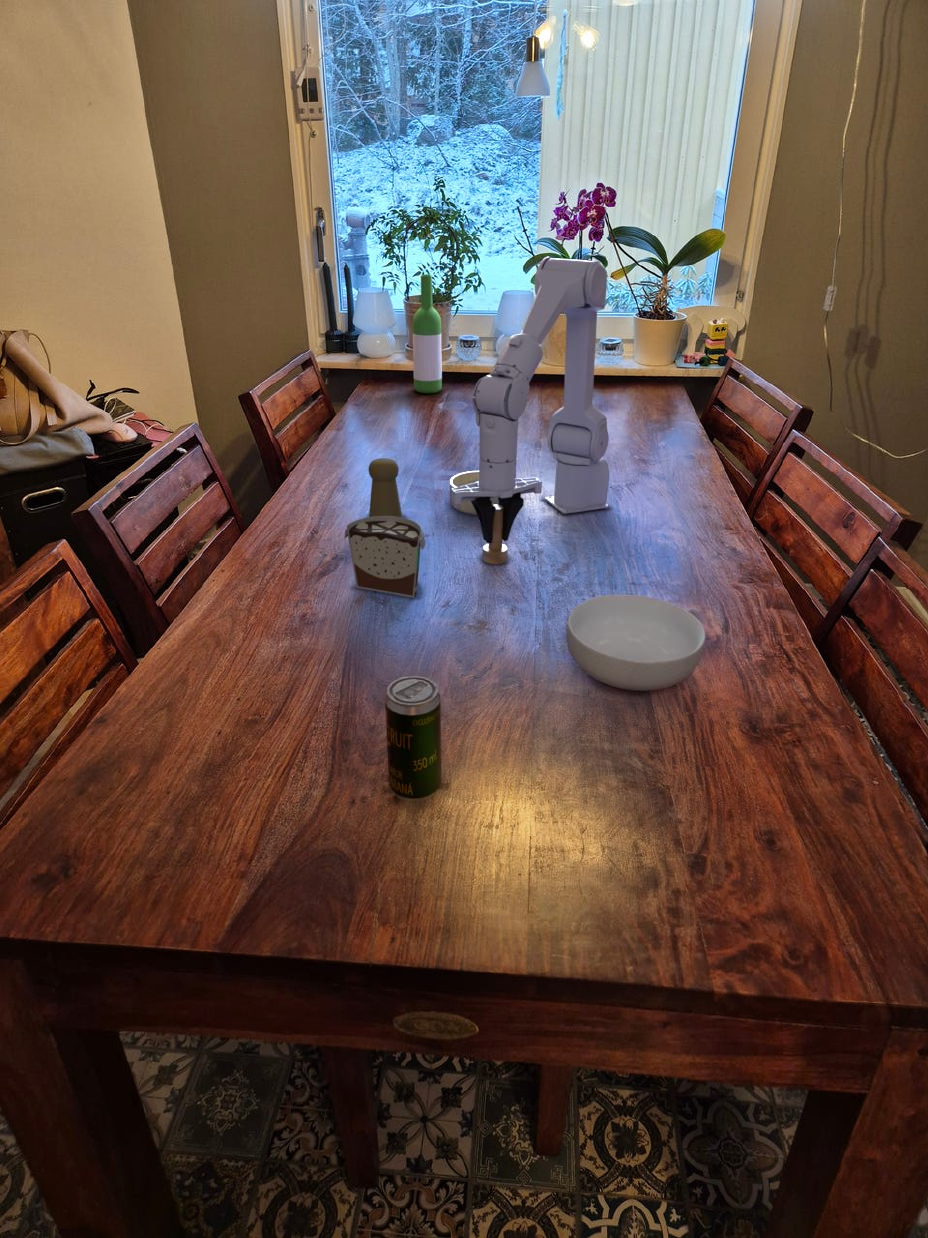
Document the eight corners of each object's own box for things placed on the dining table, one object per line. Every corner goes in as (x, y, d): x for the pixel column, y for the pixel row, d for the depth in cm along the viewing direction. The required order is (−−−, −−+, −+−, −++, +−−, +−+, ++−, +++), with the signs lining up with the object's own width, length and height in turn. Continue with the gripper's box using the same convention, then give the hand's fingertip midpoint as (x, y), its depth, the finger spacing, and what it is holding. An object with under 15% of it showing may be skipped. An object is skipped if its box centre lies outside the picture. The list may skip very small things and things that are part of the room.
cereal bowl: (670, 729, 93) (678, 677, 89) (540, 684, 100) (543, 635, 97) (715, 661, 105) (724, 614, 102) (596, 627, 113) (601, 581, 110)
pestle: (501, 552, 134) (503, 500, 130) (511, 562, 131) (513, 509, 127) (478, 555, 133) (479, 503, 129) (488, 565, 130) (489, 512, 125)
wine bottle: (411, 393, 225) (408, 276, 210) (417, 386, 232) (415, 272, 217) (438, 394, 224) (438, 277, 209) (444, 388, 231) (443, 273, 216)
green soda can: (414, 762, 87) (411, 668, 81) (452, 784, 84) (452, 688, 78) (378, 788, 84) (372, 691, 78) (416, 812, 81) (413, 713, 75)
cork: (397, 527, 143) (395, 466, 138) (364, 524, 144) (361, 464, 139) (406, 514, 148) (404, 455, 143) (374, 511, 149) (371, 453, 144)
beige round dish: (498, 489, 160) (499, 467, 158) (524, 511, 150) (525, 488, 148) (441, 497, 156) (440, 474, 154) (463, 520, 146) (463, 496, 144)
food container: (438, 581, 125) (437, 520, 120) (423, 599, 120) (422, 536, 115) (365, 569, 128) (361, 509, 123) (347, 586, 123) (343, 524, 118)
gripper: (462, 470, 118) (461, 556, 125) (552, 460, 123) (547, 542, 129) (446, 456, 124) (446, 538, 131) (532, 446, 129) (528, 526, 135)
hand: (495, 539), depth 130 cm, fingers closed on pestle, 2 cm apart
